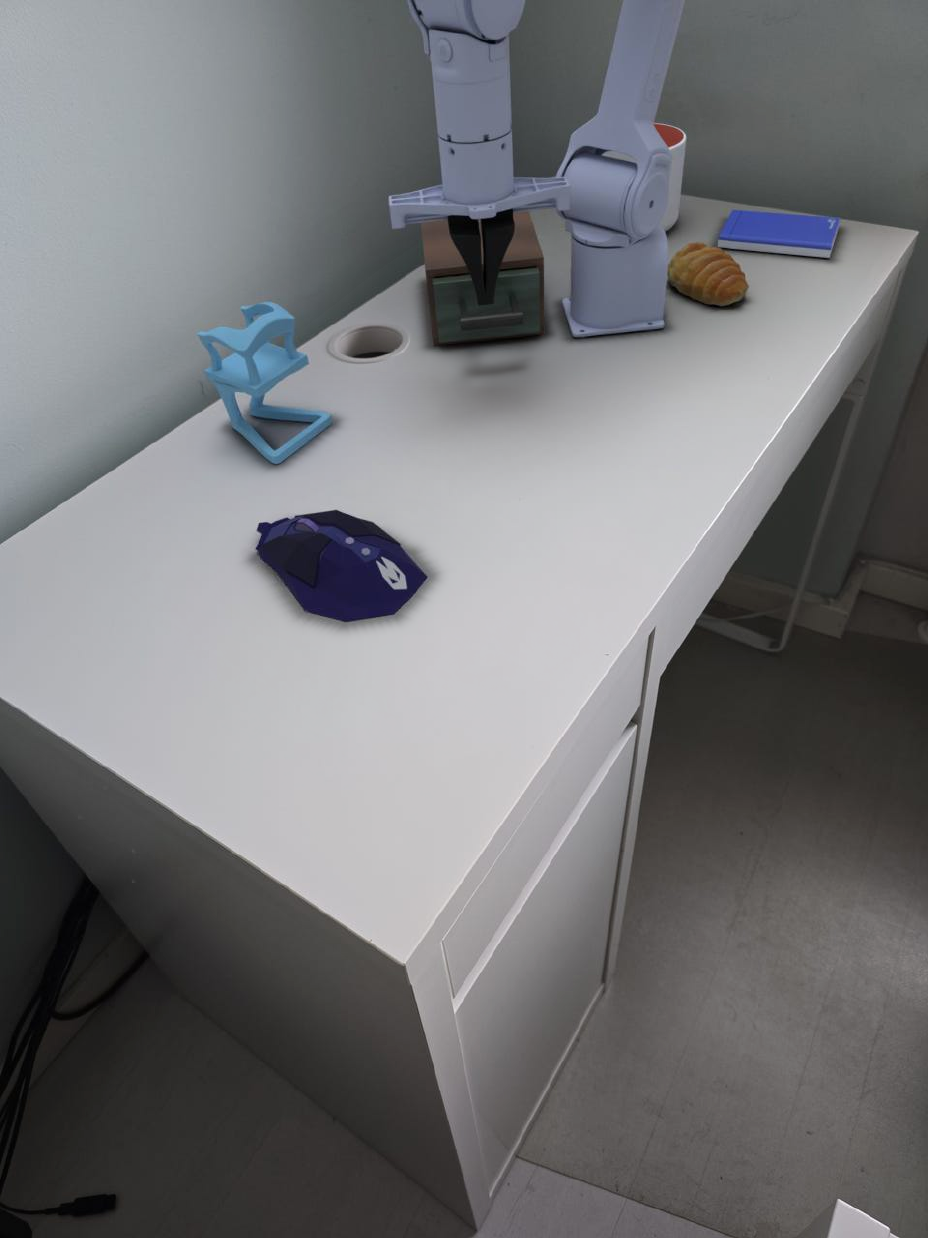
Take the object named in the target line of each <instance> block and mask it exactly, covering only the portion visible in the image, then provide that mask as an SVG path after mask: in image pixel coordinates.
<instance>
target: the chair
mask: <svg viewBox="0 0 928 1238" xmlns="http://www.w3.org/2000/svg"><path fill="white" fill-rule="evenodd" d="M240 311H241V313H242V314H243V316H244V320H245V324H246V327H245V328H244V329H237V328H236V329H235V328H231V327H228V326H217V327H215V328H212V329H211V330H208V331H198V332H197V336H198V338H199V340H200V341H201V343H202V345H203V347H204V348H205V349H206V351H207V353H208V354H209V357H210V359H211V360H210V361H211V365H210V366H208V367H207V368H206V369H205V370H204V372H203V373H204V374H205V378H206V380H208V381H210V382H211V383H212V384H213V386H214V387H215V389H216V390H217V392H218V394H219V396H220V398H221V400H222V403H223V404H224V405H223V406H224V408H226V409H225V410H226V412H227V414H228V416H229V420H230V423H231V424H230V425H231V428H232V429H233V430H235V431H237V432H238V433H239V434H240V435H241V436H242V437H243V438H245V440H247V441H248V442H249V443H250V444H251V445H252V447H254V448H255V449H256V450H257V451H258V452H259V453H260V454H261V455H262V456H263V458H265V459H266V460H267V461H268V462H270V463H272V464H273V465H279V464H281V463H282V462H283V461H285V460H286V459H288V458H289V457H290V456H291V455H293V454H294V453H295V452H297V451H298V450H299V449H300V448H302V447H303V446H304V445H306V444H307V443H309V442H310V441H311V440H313V439H314V438H315V437H317V436H318V435H319V434H320V433H322V432H323V431H324V430H326V429H327V428H328V427H329V426H331V425H332V416H331V414H330V413H329V412H326V411H320V410H313V409H305V408H294V407H284V406H277V405H269V404H265V403H264V400H265V396H266V394H267V393H268V392H270V391H271V390H272V389H273V388H274V387H275V386H276V385H277V384H279V383H280V382H281V381H284V380H285V379H286V378H287V377H290V376H292V375H293V374H295V373H297V372H299V371H300V370H302V369H303V368H305V367H306V366H308V365H309V364H310V363H309V358H308V354H306V353H302V352H300V351H298V350H297V349H296V346H295V342H294V340H295V339H294V337H295V330H296V329H295V327H296V325H295V324H296V319H295V317H294V316H293V315H292V314H290V312H289V311H287V310H286V309H285V308H284V307H283V306H280V305H279V304H277V303H275V302H272V301H263V302H258V303H255V304H253V305H241V306H240ZM259 315H260V316H259ZM256 316H257V317H258V316H259V317H258V318H257V319H255V320H254V317H256ZM284 334H285V337H284V347H281V346H278V345H275V344H273V343H271V342H269V341H271V340H272V339H275V338H277V337H279V336H281V335H284ZM213 343H214V344H215V343H216V344H219V345H221V346H223V347H226V348H227V349H229V350H230V351H232V352H233V353H231V354H230V355H228V356H227V357H225V358H223V359H222V356H221V355H220V352H219V351H218V349H217V348H216V347H215V346H214V345H213ZM235 393H244V394H246V395H248V396H251V397H250V401H249V404H248V407H249V414H250V415H251V416H253V417H257V418H263V419H270V420H271V419H273V420H282V421H292V422H293V421H294V422H305V423H311V424H310V425H308V426H307V427H305V429H303V430H301V431H300V432H299V433H298V434H296V435H295V436H294V437H292V438H291V439H289V440H288V441H287V442H285V443H284V444H282V445H281V446H280V447H278V448H277V449H273V448H272V447H271V446H270V445H269V444H268V443H267V442H266V441H265V439H264V438H263V437H262V436H261V435H260V434H259V433H258V432H257V430H256V429H255V428H254V427H253V425H251V424H250V423H249V422H248V421H247V420H246V419H245V418H244V417H243V415H242V412H241V410H240V407H239V405H238V402H237V399H236V394H235Z"/></svg>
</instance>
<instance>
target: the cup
mask: <svg viewBox="0 0 928 1238" xmlns="http://www.w3.org/2000/svg"><path fill="white" fill-rule="evenodd" d="M654 127H655V128H656V130H657V132H658V133H659V135H660V136H661V138H662V139H663V141H664V142H665V143H666V145H667V146H668V148H669V150H670V151H671V153H672V155H673V159H672V163H671V168H670V174H669V182H668V188H669V193H668V201H667V206H666V209H665V212H664V215H663V217H662V219H661V221H660V223H659V224H658V226H662V227H663V228H664V230H665V233H666V232H667V231H669V230H670V229H671V228H673V226H674V225H675V224H676V222H677V220H678V218H679V215H680V214H679V213H680V206H681V205H680V204H681V203H680V202H681V195H682V184H683V176H684V175H683V174H684V167H685V155H686V145H687V135H686V133H685V131H683V130H682V129H681V128H679V127H677V126H673V125H669V124H666V123H665V124H664V123H659V122H657V123H656V122H654ZM602 156H607V157H611V158H616V159H620V160H625V161H629V162H634V163H636V161H635V160H634V158H633V157H632V156H629V155H627V154H623V153H619V152H614V151H608V152H605V153H604V154H602Z"/></svg>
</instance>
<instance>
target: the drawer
mask: <svg viewBox="0 0 928 1238" xmlns="http://www.w3.org/2000/svg"><path fill="white" fill-rule="evenodd" d="M482 274H483V273H482ZM433 289H434V298H435V308H436V318H437V328H438V337H439V343H444V342H453V341H463V340H472V339H482V338H491V337H501V336H510V335H519V334H529V333H538V332H540V274H539V270H538V268H529V267H522V268H512V269H503V271H499V274H498V278H497V282H496V287H495V294H494V304H489V305H480V306H479V305H478V303H477V298H476V291H475V287H474V284H473V281H472V279H471V276H470V275H461V276H453V275H446V276H438V278H433Z"/></svg>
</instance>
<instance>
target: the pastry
mask: <svg viewBox="0 0 928 1238" xmlns="http://www.w3.org/2000/svg"><path fill="white" fill-rule="evenodd" d="M667 279H668V280H669V282H670V284H671V287H675V288H676V289H677V291H678V292H679V293H681V294H682V295H684V296H688V297H689V298H691V299H692V300H693V301H698V303H703V304H705V305H717V306H720V307H725V306H729V305H731V304H734V303H737V302H739V301H741V300H743V299H744V297H745V294H746V293H747V292H748V290H749V283H748V282H747V279H746V273H745V272H743V271H742V269H741V265H740V264H739V263H737V262H736V261H735V259H734V258H733V257H732V255H731V254H730V253H727V252H725V250H723V249H722V247H715V246H714V247H710V246H708V243H705V242H702V241H701V242H699V241H695V242H690V243H687V244H686V245H685V246H683V247H682V248H681V249H680V250H678V251H676V253H675V254H674V255H673V256H672V258H671V260H670V261H669V262H668V274H667Z"/></svg>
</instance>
